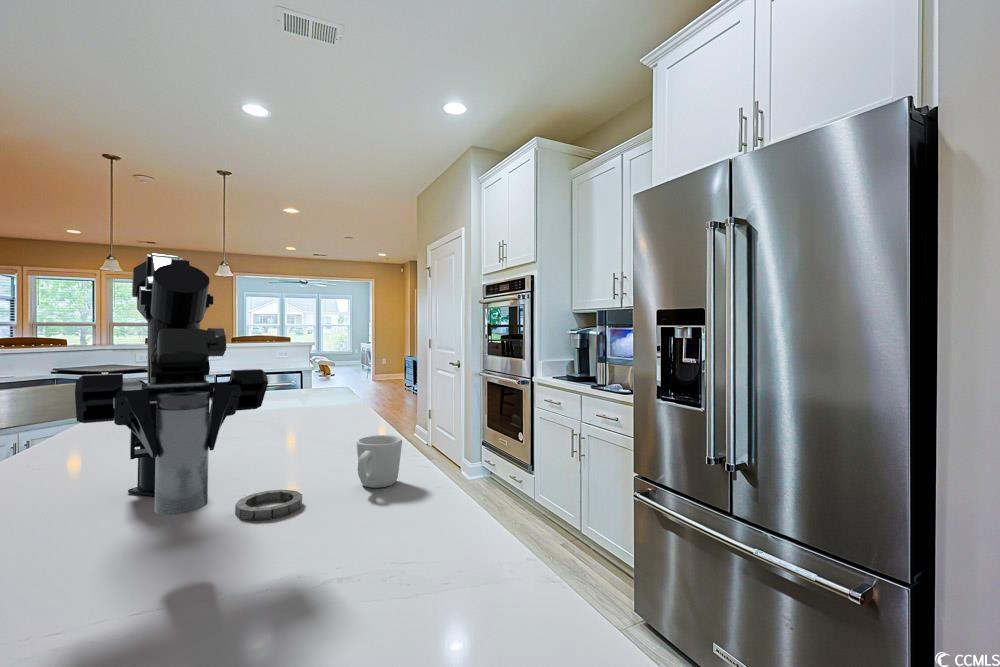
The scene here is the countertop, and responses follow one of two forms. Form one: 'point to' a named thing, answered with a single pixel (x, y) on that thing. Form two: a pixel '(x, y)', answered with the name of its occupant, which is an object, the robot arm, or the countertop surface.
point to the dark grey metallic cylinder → (182, 452)
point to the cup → (379, 460)
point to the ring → (266, 513)
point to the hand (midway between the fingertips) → (184, 451)
